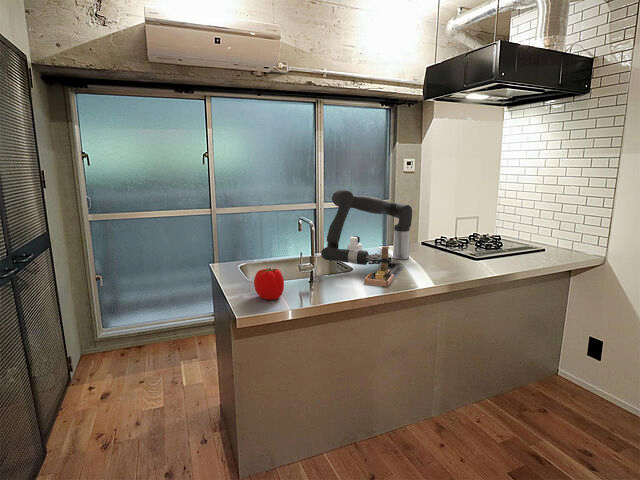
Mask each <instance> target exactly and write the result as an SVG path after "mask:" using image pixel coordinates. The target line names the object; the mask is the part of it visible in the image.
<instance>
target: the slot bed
mask: <svg viewBox="0 0 640 480" xmlns="http://www.w3.org/2000/svg"><path fill="white" fill-rule="evenodd" d="M378 269H381V264H379V266H378V267H377V268H376V269H375V270H374V271H372V272H373V277H374V278H375V274H376V273H377V271H378ZM388 270H391V272H390V273H389V276H388V277H386V279H389V278H390V276H391V275H392V274H394V279H393V280H395V279H396V278H397V277H398V276H399V274H400V273H401V272H402V270H404V267H403V266H402V267H401V263H397V262H390V263H389V264H388Z"/></svg>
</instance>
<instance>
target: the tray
mask: <svg viewBox="0 0 640 480" xmlns="http://www.w3.org/2000/svg"><path fill="white" fill-rule="evenodd" d="M373 272H374V271H370V273H368V275H366V276H365V277H364V279H363V284H364V285H372V286H380V287H387V288H388V287H389V286H390V284H392V282H393V280H395V279H394V274H392V275H391V276H390V278H387V280H384V281H382V280H375V279H372V278H373V277H374V276H373Z"/></svg>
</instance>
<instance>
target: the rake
mask: <svg viewBox="0 0 640 480" xmlns="http://www.w3.org/2000/svg"><path fill="white" fill-rule="evenodd" d="M381 255H382V257H381V258H382V259H388V257H389V245H388V246H387V245H382V247H381ZM380 265H381V269H386V270H387V277H388V276H389V273H390V272H391V270H388V263H380Z"/></svg>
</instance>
